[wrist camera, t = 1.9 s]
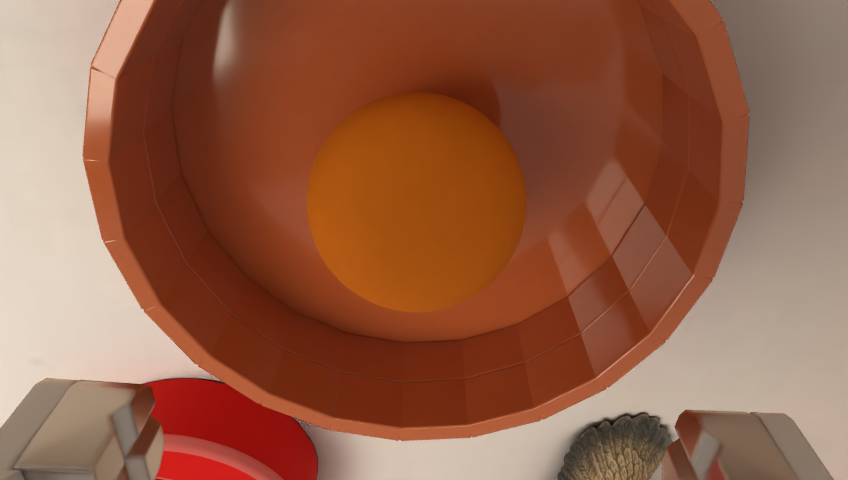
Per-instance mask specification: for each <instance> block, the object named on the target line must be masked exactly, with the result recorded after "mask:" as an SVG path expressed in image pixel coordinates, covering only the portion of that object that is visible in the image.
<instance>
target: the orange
mask: <svg viewBox="0 0 848 480" xmlns="http://www.w3.org/2000/svg"><path fill="white" fill-rule="evenodd" d="M526 204H527V196H526V187H525V181H524V176H523V173H522V169H521V166H520V163H519V161H518V159H517V156H516V154H515V152H514V150H513V148H512V147H511V145H510V143H509V142H508V140H507V138H506V137H505V136H504V135H503V133H502V132H501V131H500V130H499V128H498V127H497V126H496V125H495V124H493V123H492V122H491V121H490V120H489V119H488V118H487V117H486V116H485V115H483V114H482V113H481V112H479V111H478V110H476V109H475V108H473V107H472V106H470V105H468V104H466V103H464V102H462V101H460V100H457V99H454V98H451V97H448V96H445V95H440V94H436V93H428V92H403V93H398V94H392V95H388V96H385V97H382V98H379V99H376V100H374V101H372V102H369V103H367V104H365V105H363V106H362V107H360V108H359V109H357V110H356V111H354V112H352V113H351V114H350V115H349V116H347V117H346V118H345V119H344V120H343V121H342V122H340V123H339V124H338V125H337V126H336V128H335V129H334V130H333V131H332V132H331V133H330V135H329V136H328V137H327V139H326V141H325V142H324V144H323V145H322V147H321V149H320V150H319V152H318V154H317V157H316V159H315V161H314V163H313V167H312V170H311V174H310V177H309V182H308V189H307V216H308V222H309V227H310V231H311V234H312V237H313V240H314V243H315V245H316V248H317V250H318V252H319V254H320V256H321V257H322V259H323V260H324V262H325V263H326V265H327V266H328V268H329V269H330V270H331V272H332V273H333V274H334V275H335V276H336V277H337V279H338V280H339V281H340V282H342V283H343V284H344V285H345V286H346V287H347V288H348V289H350V290H351V291H353V292H354V293H356V294H357V295H359V296H360V297H362V298H364V299H366V300H368V301H369V302H371V303H374V304H376V305H379V306H381V307H385V308H388V309H392V310H397V311H403V312H429V311H436V310H441V309H445V308H449V307H452V306H454V305H457V304H460V303H462V302H464V301H466V300H468V299H469V298H471V297H473V296H475V295H476V294H478V293H479V292H481V291H482V290H484V289H485V288H486V287H487V286H488V285H490V284H491V283H492V282H493V281H494V280H495V279H496V278H497V276H498V275H499V274H500V273H501V272H502V271H503V270H504V268H505V267H506V265H507V264H508V263H509V261H510V260H511V258H512V256H513V254H514V252H515V250H516V248H517V246H518V243H519V241H520V238H521V235H522V232H523V228H524V223H525V217H526Z"/></svg>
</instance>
